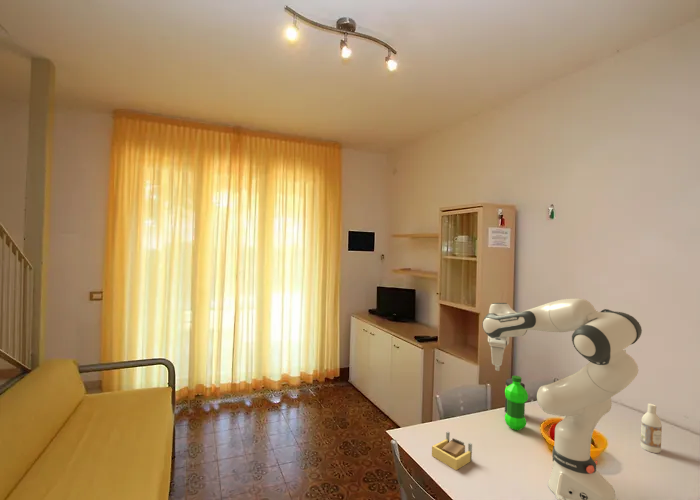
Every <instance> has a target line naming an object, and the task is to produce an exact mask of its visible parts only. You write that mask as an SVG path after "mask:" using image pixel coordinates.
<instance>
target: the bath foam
mask: <svg viewBox="0 0 700 500" xmlns="http://www.w3.org/2000/svg"><path fill="white" fill-rule="evenodd" d="M640 422H641V423H640V424H641V425H640V447H641V448H642V449H643V450H644V451H646V452H651V453H654V454H659V453H661V452H662V430H663V428H662V427H663V424H662V421H661V419H660V418H659V415H658V414H657V405H656V404H653V403H649V402H648V403H647V411H646V412H645V413H644V414H643V415H642V417H641V421H640Z"/></svg>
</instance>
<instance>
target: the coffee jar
mask: <svg viewBox="0 0 700 500" xmlns="http://www.w3.org/2000/svg"><path fill="white" fill-rule="evenodd" d="M512 383H513V381H512V377H511V378H507V379H506V380H505V384H504V385H505V388H506V387H507V386H509V385H510V384H512ZM520 385H521V386H522V387H524V389H525V390H526V388H525V387H526V385H525V383H523V382H522V381H521V382H520ZM504 412H505V414H506V413H507V398H506V397H505V402H504Z"/></svg>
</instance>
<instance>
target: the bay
mask: <svg viewBox="0 0 700 500" xmlns="http://www.w3.org/2000/svg"><path fill="white" fill-rule="evenodd" d="M445 434H446V435H445V439H443V440H442V441H440V442H438V443H435V444H434V445H432V446H431V457H434V458H435V459H436V460H438V461H440V462H441V463H443V464H444V465H446V466H447V467H450V468H452V469H454V470H455V471H457V470H459V469H460V468H462V467H464V466H466V465H467V464H469V463H470V462H472V458H473V457H472V455H473V454H472V453H473V443H471V442H469V443H468V444H467V446H468V448H467V449H468V450H467V451H465V453H464V454H462V455H460V456H459V457H457V458H455V457H453V456H451V455H450V454H448V453H446V452H444V451H442V448H443V447H444V446H445V445H446V444H448V443H449V442H450V437H451V436H450V432H449V431H447V432H446V433H445Z"/></svg>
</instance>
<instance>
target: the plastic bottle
mask: <svg viewBox="0 0 700 500" xmlns="http://www.w3.org/2000/svg"><path fill="white" fill-rule="evenodd" d="M511 378H512V381H513V383H512V384H510V385H509V386H507V387H506V386H505V389H504V395H505V399H506V398H507V413H506V412H505V415H504V421H505V424H506V425H507V426H508V427H509V428H510V429H512V430H514V431H521V430H522V429H523V428H525V427H526V426H527V419H526V417H525V412H526V411H525V410H526V409H525V408H526V407H525V406H526V402H527V401H528V400H529V394H528V392H527V390H526V388H525V389H524V387H522V386H521V385H520V382H521V383H522V376H520V375H512V376H511Z"/></svg>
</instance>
